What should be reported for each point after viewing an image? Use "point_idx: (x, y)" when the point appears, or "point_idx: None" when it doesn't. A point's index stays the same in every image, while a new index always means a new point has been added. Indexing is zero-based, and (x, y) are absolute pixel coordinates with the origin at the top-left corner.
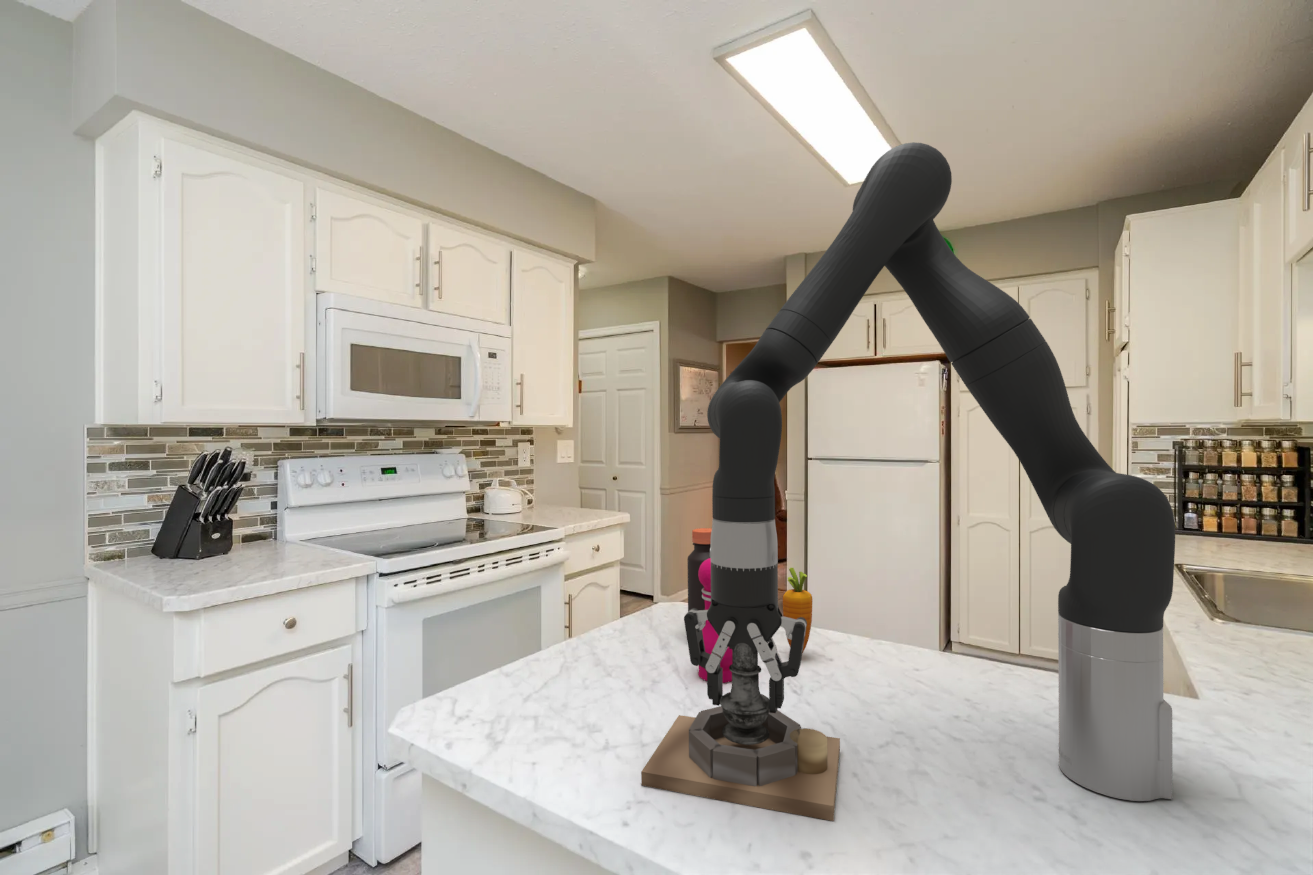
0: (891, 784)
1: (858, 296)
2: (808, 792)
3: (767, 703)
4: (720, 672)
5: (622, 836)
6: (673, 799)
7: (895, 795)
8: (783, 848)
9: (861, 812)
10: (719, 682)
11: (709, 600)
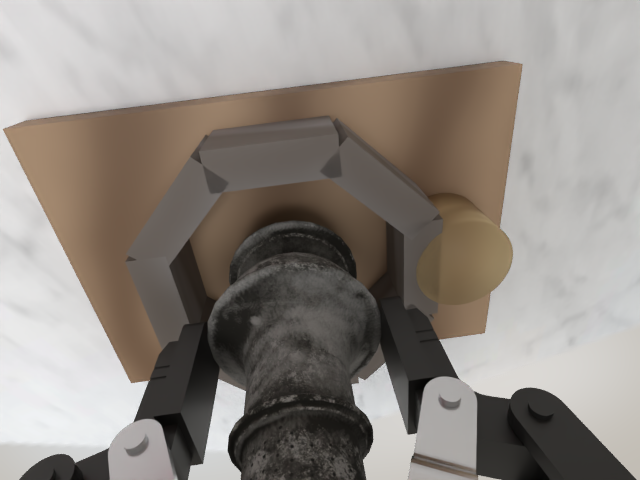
0: (597, 168)
1: None
2: (442, 318)
3: (370, 328)
4: (193, 430)
5: None
6: None
7: (594, 204)
8: None
9: (520, 277)
10: (204, 412)
11: None
